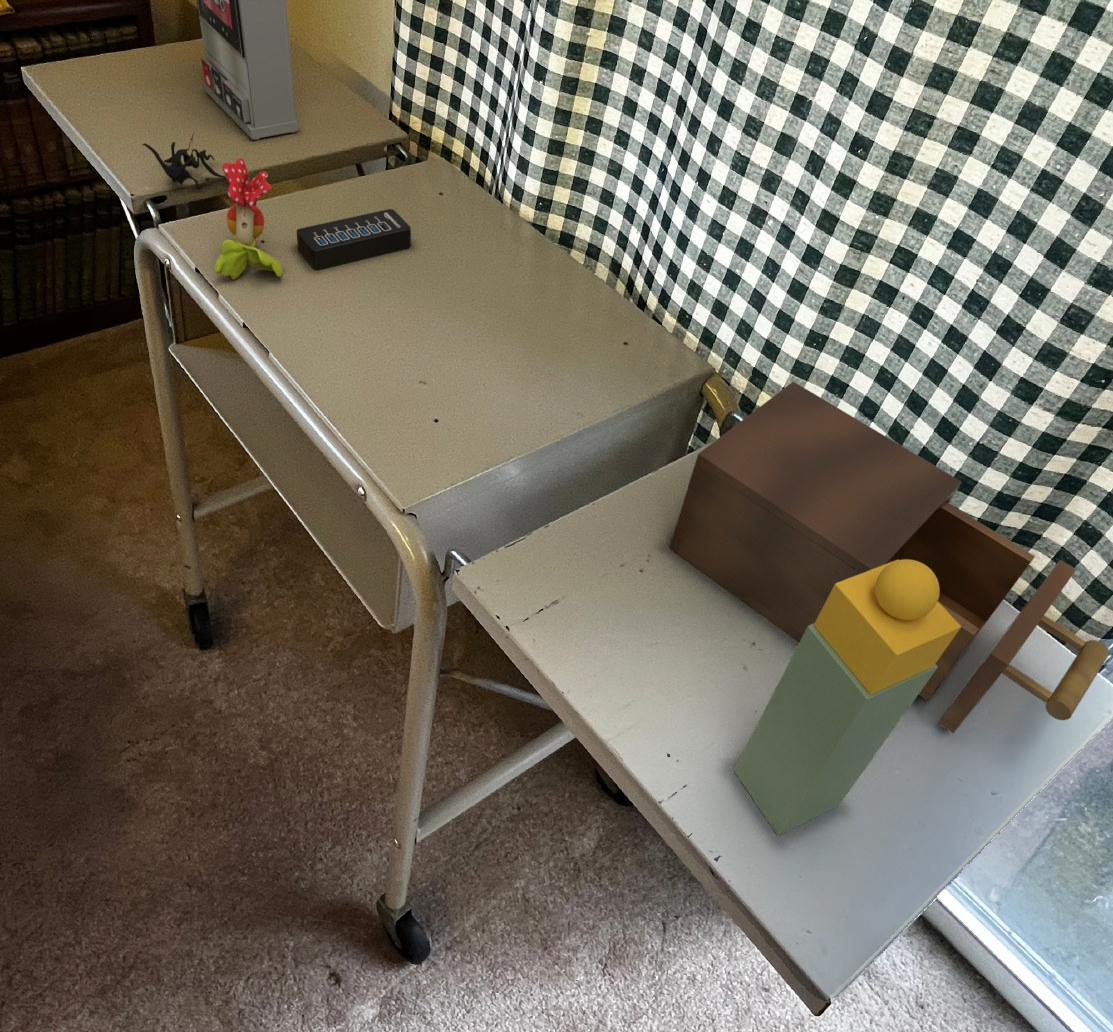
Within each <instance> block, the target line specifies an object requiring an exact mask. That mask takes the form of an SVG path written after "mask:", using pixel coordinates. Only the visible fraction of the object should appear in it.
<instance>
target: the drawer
mask: <svg viewBox="0 0 1113 1032" xmlns="http://www.w3.org/2000/svg"><path fill="white" fill-rule="evenodd" d="M1035 557H1036V556H1035V555H1034V554H1032V553H1031V552H1029V551H1027V550H1026V549H1024V548H1022V547H1021V546H1019V545H1017V544H1016V543H1014V542H1012V541H1011V540H1009V539H1008V538H1006V537H1004V536H1003V535H1001V534H999V533H998V532H996V531H995V530H993V529H991V528H989V527H988V526H987V525H984V523H981V522H980V521H978V520H976V519H974V518H973V517H972V516H970V515H968V514H966V513H965V512H963V511H961V510H960V509H958V508H956V507H955V506H953V505H952V504H950V503H949V504H948V503H947V502H946V503H945V504H944V505H943V506H942V507H941V508H940V509H939V510H938V511H937V512H936V513H935V514H934V515H933V517H932V518H931V519H930V520H929V521H928V522H927V523H926V524H925V525H924V526H923V527H922V528H921V529H920V531H919V532H918V533H917V534H916V535H915V536H914V537H913V538H912V539H911V540H910V541H909V542H908V543H907V545H906V546H905V547H904V548H903V549H902V550H901V551H900V552H899V553H898V554H897V555H896V556H895V557H894V559H893V560H892V561H891V562H893V561H895V560H904V559H908V560H915V561H918V562H921V563H923V564H924V565H926V566H927V567H929V568H930V569H931V570H932V571H933V573H934V574H935V576H936V578H937V580H938V583H939V588H940V592H939V598H938V602H939V603H940V604H941V605H942V606H943V607H944V608H945V609H946V611H947V612H948V613H949V614H950V615H951V616H952V617H953V618H954V619H955V620H956V621H957V622H958V623H959V624H960V626H961V628H960V630H959V631H958V632H957V634H956V635H955V637H954V638H953V639H952V641H951V642H950V644H949V645H948V646H947V648H946V649H945V651H944V652H943V653H942V655H941V656H940V658H939V659H938V661H937V662H936V663H935V664H936V665H937V667H938V668H937V669H936V671H935V672H934V673H933V675H932V676H931V677H930V679H929V680H928V682H927V683H926V684H925V686H924V687H923V689H922V690H921V691H920V693H919V694H918V696H920V697H921V698H923V699H924V700H925V701H927V700H929V698H930V697H931V696H932V695H933V693H934V692H935V691H936V689H937V688H938V687H939V686H940V684H941V683H942V682H943V681H944V679H945V678H946V676H948V673H949V672H950V671H951V670H952V668H953V667H954V666H955V665H956V663H957V662H958V660H959V659H960V658H961V657H962V655H963V654H964V653H965V652H966V650H967V649H968V647H969V646H970V645H971V644H972V642H973V641H974V639H975V638H976V637H977V636H978V634H979V633H980V631H981V630H982V629H983V628H984V627H985V625H986V624H987V622H988V621H989V620H990V618H991V617H992V616H993V615H994V613H995V612H996V610H997V609H998V608H999V606H1000V605H1001V604H1002V602H1003V600H1004V599H1006V597H1007V595H1008V594H1009V593H1010V592H1011V590H1012V588H1013V587H1014V586H1015V585H1016V583H1017V582H1018V581H1019V579H1020V578H1021V577H1022V575H1023V574H1024V572H1025V571H1026V570H1027V569H1028V567H1029V565H1030V564H1031V563H1032V561H1033V560H1034V559H1035ZM1076 571H1077V568H1075V567H1073V566H1072V565H1070V564H1068V563H1067V562H1065V561H1064V560H1061V559H1059V561H1058V562H1057V563H1056V564H1055V566H1054V567H1053V568H1052V569H1051V570H1050V572H1049V574H1048V575H1047V576H1046V577H1045V579H1044V580H1042V582H1041V584H1040V585H1039V587H1038V588H1037V589H1036V590H1035V591H1034V593H1033V594H1032V595H1031V597H1030V598H1029V599H1028V601H1027V602H1026V603H1025V604H1024V606H1023V607H1022V608H1021V610H1020V611H1019V612H1018V614H1017V615H1016V616H1015V618H1013V620H1012V621H1011V623H1010V624H1008V625H1009V626H1008V627H1007V628H1006V629H1005V630H1004V632H1003V633H1002V635H1001V636H1000V637H999V638H998V640H997V641H996V642H995V644H994V645H993V647H992V649H991V650H990V651H989V652H988V654H987V655H986V656H985V657H984V659H983V660H982V661H981V663H980V664H979V665H978V667H977V669H976V670H975V671H974V672H973V674H972V675H971V677H970V678H969V680H968V681H967V682H966V683H965V685H964V686H963V687H962V689H961V690H960V691H959V693H958V695H956V697H955V698H954V699H953V701H952V702H951V704H950V705H949V706H948V708H947V709H946V711H945V712H944V713H943V715H942V716H941V717H940V719H939V720H938V721H937V723H938V725H940V726H941V727H943V728H944V729H946V730H947V731H948V732H949V733H951V734H954V733H955V732H956V731H957V730H958V728H960V726H961V725H962V724H963V722H964V721H965V720H966V719H967V717H968V716H969V715H970V713H972V712H973V711H974V709H975V707H976V706H977V705H978V704H979V702H980V701H982V699H983V698H984V696H985V695H986V694H987V693H988V691H989V690H990V689H991V688H992V687H993V685H994V684H995V683H996V682H997V680H998V679H999V678H1001V675H1003V676H1005V677H1006V678H1007V679H1008V680H1009V681H1012V682H1013V683H1015V684H1016V685H1018V686H1019V687H1021V688H1022V689H1023V690H1025V691H1027V693H1030V694H1031V695H1032V696H1034V697H1036V698H1037V699H1038V700H1040V701H1042V702H1043V703H1045V711H1046V712H1047V714H1048V715H1049V716H1051V717H1052V718H1054V719H1055V720H1059V721H1068V720H1069V719H1071V717H1072V716H1073V714H1074V713H1075V711H1076V710H1077V707H1078V706H1079V705H1080V703H1081V701H1082V700H1083V698H1084V696H1085V695H1086V692H1087V691H1088V690H1089V689H1090V687H1091V685H1092V683H1093V682H1094V680H1095V678H1096V677H1097V675H1098V673H1099V672H1100V670H1101V668H1102V667H1103V665H1104V664H1105V662H1106V660H1107V659H1108V657H1109V655H1110V650H1109V648H1108V647H1107V646H1106V644H1105V643H1103V642H1101V641H1099V640H1095V639H1090V640H1087V641H1086V640H1084V639H1082V638H1081V637H1080V636H1078V635H1076V634H1075V633H1074V632H1072V631H1070V630H1069V629H1068V628H1065V627H1064V626H1063V625H1060V624H1059V623H1057V622H1056V621H1054V620H1053V619H1051V618H1050V617H1048V616H1046V613H1047V612H1048V611H1049V609H1050V608H1051V607H1052V605H1053V604H1054V602H1055V601H1056V600H1057V598H1058V597H1059V595H1060V593H1061V592H1062V591H1063V589H1064V588H1065V587H1066V585H1067V584H1068V582H1069V581H1070V579H1071V578H1072V577H1073V576H1074V574H1075V572H1076ZM1037 626H1039V627H1041V628H1042V629H1044V630H1045V631H1047V632H1048V633H1050V634H1051V635H1053V636H1054V637H1056V638H1058V639H1059V640H1061V641H1062V642H1063V643H1066V644H1067V645H1069V646H1070V647H1071V648H1073V649H1074V650H1076V651H1078V653H1077V655H1076V656H1075V657H1074V659H1073V661H1072V662H1071V664H1070V665H1069V667H1068V668H1067V670H1066V671H1065V673H1064V674H1063V676H1062V678H1061V679H1060V681H1059V682H1058V684H1057V685H1056V687H1055V688H1054V690H1053V691H1050V690H1049V689H1048V688H1046V687H1045V686H1043V685H1042V684H1040V683H1038V682H1037V681H1035V680H1034V679H1032V678H1031V677H1029V676H1028V675H1027V674H1025V673H1023V672H1022V671H1020V670H1019V669H1017V668H1016V667H1015V666H1013V665H1011V663H1012V661H1013V660H1014V658H1016V656H1017V654H1018V653H1019V652H1020V650H1021V649H1022V647H1023V646H1024V644H1025V643H1026V642H1027V640H1028V639H1029V637H1030V636H1031V634H1032V633H1033V632H1034V630H1035V629H1036V628H1037Z"/></svg>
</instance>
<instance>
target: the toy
mask: <svg viewBox="0 0 1113 1032" xmlns="http://www.w3.org/2000/svg"><path fill="white" fill-rule="evenodd" d="M939 592H940V588H939V583H938V580H937V578H936V576H935V574H934V573H933V571H932V570H931V569H930V568H929V567H927V566H926V565H924V564H923V563H921V562H918V561H915V560H908V559H904V560H895V561H893V562H890V563H887V564H885V565H882V566H880V567H877V568H874V569H872V570H869V571H866V572H864V573H861V574H859V575H856V576H853V577H851V578H848V579H846V580H843V581H840V582H838V583H836V584H835V585H834V587H833V589H832V591H831V593H830V595H829V597H828V598H827V600H826V602H825V604H824V606H823V608H822V610H821V612H820V614H819V616H818V618H817V620H816V621H815V623H814V626H815V627H816V628H817V630H818V631H819V632H820V633H821V635H822V636H823V637H824V638H825V640H826V641H827V642H828V643H829V644H830V646H831V647H832V648H833V649H834V651H835V652H836V653H837V654H838V655H839V657H840V658H841V659H842V660H843V662H844V663H845V664H846V665H847V666H848V668H849V669H850V670H851V671H852V673H853V674H854V675H855V676H856V677H857V679H858V680H859V681H860V682H861V684H862V685H863V686H864V687H865V688H866V690H867V691H868V692H869V693H870V694H871V695H872V694H874V693H876V692H879V691H881V690H883V689H885V688H887V687H890V686H892V685H894V684H896V683H898V682H901V681H903V680H905V679H907V678H910V677H912V676H914V675H916V674H918V673H921V672H923V671H925V670H927V669H929V668H932V667H933V666H934V665H935V663H936V662H937V661H938V659H939V658H940V656H941V655H942V653H943V652H944V651H945V649H946V648H947V646H948V645H949V644H950V642H951V641H952V639H953V638H954V637H955V635H956V634H957V632H958V631H959V630H960V628H961V626H960V624H959V623H958V622H957V621H956V620H955V619H954V618H953V617H952V616H951V615H950V614H949V613H948V612H947V611H946V609H945V608H944V607H943V606H942V605H941V604H940V603H939V602H938V598H939Z"/></svg>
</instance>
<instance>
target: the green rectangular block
mask: <svg viewBox="0 0 1113 1032" xmlns="http://www.w3.org/2000/svg"><path fill="white" fill-rule="evenodd" d="M937 668H938V667H937V665H936V664H935V665H934V666H933V667H932V668H929V669H927V670H925V671H923V672H921V673H918V674H916V675H914V676H912V677H910V678H907V679H905V680H903V681H901V682H898V683H896V684H894V685H892V686H890V687H887V688H885V689H883V690H881V691H879V692H876V693H874V694H872V695H871V694H870V693H869V692H868V691H867V690H866V688H865V687H864V686H863V685H862V684H861V682H860V681H859V680H858V679H857V677H856V676H855V675H854V674H853V673H852V671H851V670H850V669H849V668H848V666H847V665H846V664H845V663H844V662H843V660H842V659H841V658H840V657H839V655H838V654H837V653H836V652H835V651H834V649H833V648H832V647H831V646H830V644H829V643H828V642H827V641H826V640H825V638H824V637H823V636H822V635H821V633H820V632H819V631H818V630H817V628H816V627H815V626H814V624H811V625H809V626H808V627H807V629H806V631H805V633H804V635H803V636H802V638H801V640H800V642H799V641H798V644H797V646H796V648H795V650H794V652H793V654H792V656H791V658H790V659H789V662H788V664H787V665H786V668H785V669H784V672H782V673H783V674H782V676H781V678H780V679H779V681H778V684H777V685H776V687H775V689H774V691H773V693H772V694H771V697H770V698H769V700H768V703H767V704H766V706H765V708H764V710H763V713H762V714H761V716H760V718H759V720H758V722H757V724H756V725H755V728H754V730H753V732H752V734H751V736H750V738H749V740H748V742H747V743H746V746H745V748H744V749H743V751H742V754H741V755H740V756H739V759H738V761H737V763H736V765H735V767H734V769H733V772H734V773H735V775H736V777H737V778H738V779H739V781H740V782H741V784H742V785H743V786H744V788H745V790H746V792H747V793H748V794H749V795H750V797H751V798H752V800H753V801H754V804H755V805H756V807H757V808H758V809H759V811H760V812H761V813H762V815H763V816H764V818H765V819H766V821H767V822H768V824H769V825H770V827H771V828H772V830H773V831H774V833H775V834H776V836H777V837H779V836H782V835H784V834H786V833H788V832H790V831H792V830H794V829H796V828H798V827H800V826H801V825H804V824H806V823H808V822H810V821H811V820H814V819H815V818H817V817H820V816H822V815H824V814H825V813H828V812H829V811H832V810H834V809H836V808H837V807H839V806H840V805H841V803H842V801H844V799H845V798H846V796H847V795H848V793H849V792H850V791H851V789H852V788H853V786H854V785H855V784H856V782H857V781H858V780H859V778H860V777H861V775H862V774H863V773H864V771H865V769H866V768H867V767H868V766H869V764H870V763H871V761H872V760H873V758H875V756H876V754H877V753H878V752H879V750H880V749H881V748H882V747H883V744H884V743H885V742H886V740H887V738H889V737H890V735H891V733H892V732H893V731H894V729H895V728H896V727H897V725H898V724H899V722H900V721H901V719H902V718H903V717H904V715H905V714H906V713H907V712H908V710H909V708H910V707H911V705H912V704H913V703H914V701H915V700H916V699H917V697H918V696H919V695H918V694H919V693H920V691H921V690H922V689H923V687H924V686H925V684H926V683H927V682H928V680H929V679H930V677H931V676H932V675H933V673H934V672H935V671H936V669H937Z"/></svg>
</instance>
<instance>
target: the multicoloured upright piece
mask: <svg viewBox="0 0 1113 1032" xmlns="http://www.w3.org/2000/svg"><path fill="white" fill-rule="evenodd" d="M221 170H222V171H223V174H224V176H225V177H226V178H227V179H226V180H227V181H228V183H229V186H228V189H227V196H228V197H229V199H230V201H231V202H232V203H233V205H231V206H230V208H229V209H228V211H227V215H226V224H227V228H228V230H229V232H230V233H231V234H232V235H233V237H234V240H232V239H225V240H224V241H223V242H222V243H221V245H220V255H219V257H217V259H216V261H215V265H214V269H213V271H214V273H216V274H218V275H222V276H230V277H231V278H230V279H232V280H234V281H235V280H236V279H238V278H239V277H240V275H241V274H242V273H243V272H244V271H245V269H246V268H247V265H249V266H252V267H253V268H256V269H257V268H258V269H261V270H263V271H267V272H273V273H275V275H276V277H282V276H283V268H282V265H281V263H280V262H279V260H277V259H276V258H274V257H272V256H271V255H269V254H268V253H267V252H266V251H264V250H261V248H257V246H256V240H255V239H258V238H259V237H260V236H261V235H262V233H263V230H264V229H265V216H264V214H263V211H262V210H261V209H260V208H259V207H258V206H257V204H258V203H257V200H258V199H259V198H261V197H263V196H264V195H266V194H268V193H269V192H270V191H271V190H272V189H273V187H272V186H271V185H270V183H269V182H268V181H267V179H268V177H269V173H268V172H267V171H265V170H262V171H260V172H259V173H258V174H257V175H256V176H255V177H253V178H252V179H251V180H250V178H249V171H248V169H247V165H246V162H245V160H244V158H242V157H239V158H237V159H236V160H235V162H232V163H231V162H224V163H223V164H222V166H221Z"/></svg>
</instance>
